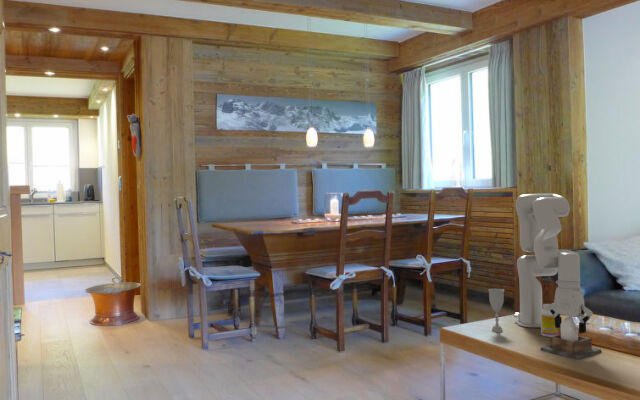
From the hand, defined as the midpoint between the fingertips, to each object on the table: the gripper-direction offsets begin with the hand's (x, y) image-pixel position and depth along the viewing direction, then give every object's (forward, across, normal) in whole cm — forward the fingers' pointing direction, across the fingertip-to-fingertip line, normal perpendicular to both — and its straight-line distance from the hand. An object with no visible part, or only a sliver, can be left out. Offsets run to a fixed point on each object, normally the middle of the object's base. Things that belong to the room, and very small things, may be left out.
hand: (570, 330), depth 203 cm
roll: (+7, 0, 0) cm, 7 cm away
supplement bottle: (+8, -18, +14) cm, 24 cm away
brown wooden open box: (+8, 0, 0) cm, 8 cm away
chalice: (+8, -36, +2) cm, 37 cm away
